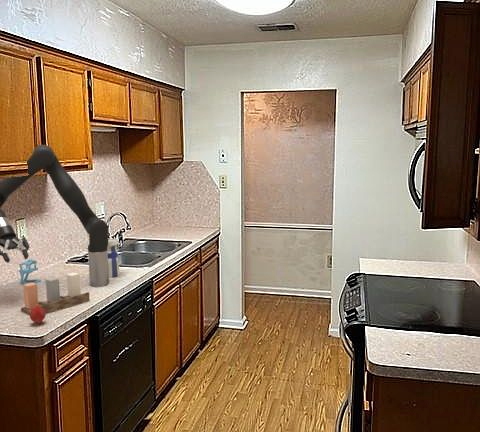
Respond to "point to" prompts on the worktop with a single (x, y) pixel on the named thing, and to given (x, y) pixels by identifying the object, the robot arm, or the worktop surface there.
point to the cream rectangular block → (73, 284)
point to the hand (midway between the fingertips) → (17, 259)
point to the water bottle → (113, 258)
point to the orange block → (30, 295)
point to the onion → (37, 314)
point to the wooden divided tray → (60, 303)
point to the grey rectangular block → (52, 289)
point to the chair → (28, 271)
